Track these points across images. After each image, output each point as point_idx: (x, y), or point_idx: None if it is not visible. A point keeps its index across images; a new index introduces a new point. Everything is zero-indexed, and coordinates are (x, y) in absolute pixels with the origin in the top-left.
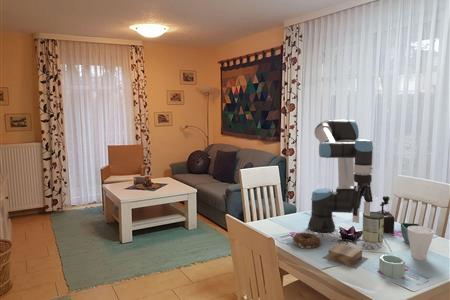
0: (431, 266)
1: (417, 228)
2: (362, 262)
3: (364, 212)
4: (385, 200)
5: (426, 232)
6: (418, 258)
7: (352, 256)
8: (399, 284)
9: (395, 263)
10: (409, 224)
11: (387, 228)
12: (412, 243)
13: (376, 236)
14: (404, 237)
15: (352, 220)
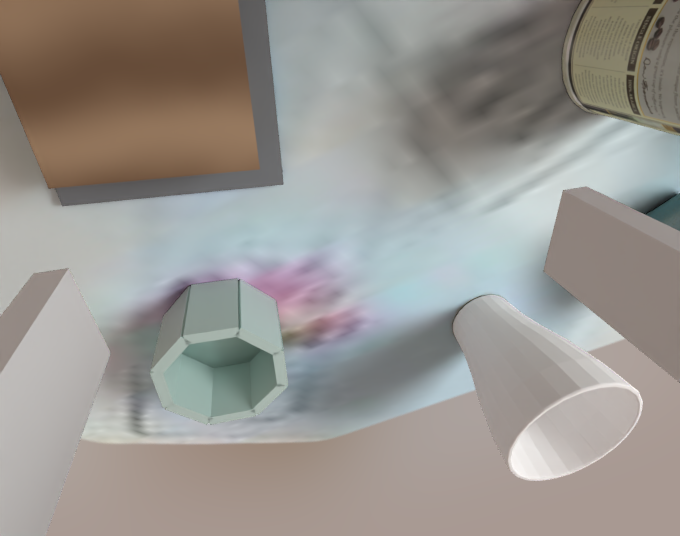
0: (416, 377)
1: (624, 392)
2: (192, 187)
3: (593, 220)
4: None
5: (599, 414)
6: (454, 334)
7: (67, 183)
8: (142, 389)
9: (183, 410)
10: None
11: None
12: (486, 366)
13: (608, 102)
14: (670, 218)
15: (22, 288)
